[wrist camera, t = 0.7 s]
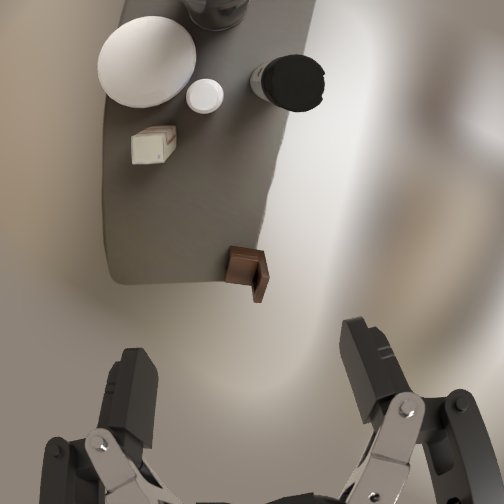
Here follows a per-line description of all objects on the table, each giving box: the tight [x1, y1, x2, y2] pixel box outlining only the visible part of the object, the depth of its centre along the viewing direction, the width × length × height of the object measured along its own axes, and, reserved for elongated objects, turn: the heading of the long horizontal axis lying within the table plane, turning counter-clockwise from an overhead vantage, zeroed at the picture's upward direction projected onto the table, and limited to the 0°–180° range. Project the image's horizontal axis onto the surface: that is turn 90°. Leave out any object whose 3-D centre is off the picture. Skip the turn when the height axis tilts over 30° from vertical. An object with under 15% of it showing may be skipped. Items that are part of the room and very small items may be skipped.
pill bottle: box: [186, 79, 223, 114], centre depth 39 cm, size 6×5×10 cm
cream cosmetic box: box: [131, 125, 177, 164], centre depth 42 cm, size 5×4×10 cm
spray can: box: [250, 54, 325, 112], centre depth 34 cm, size 7×7×20 cm
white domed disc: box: [97, 16, 196, 108], centre depth 35 cm, size 16×16×7 cm
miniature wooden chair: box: [225, 246, 270, 303], centre depth 58 cm, size 6×7×9 cm
